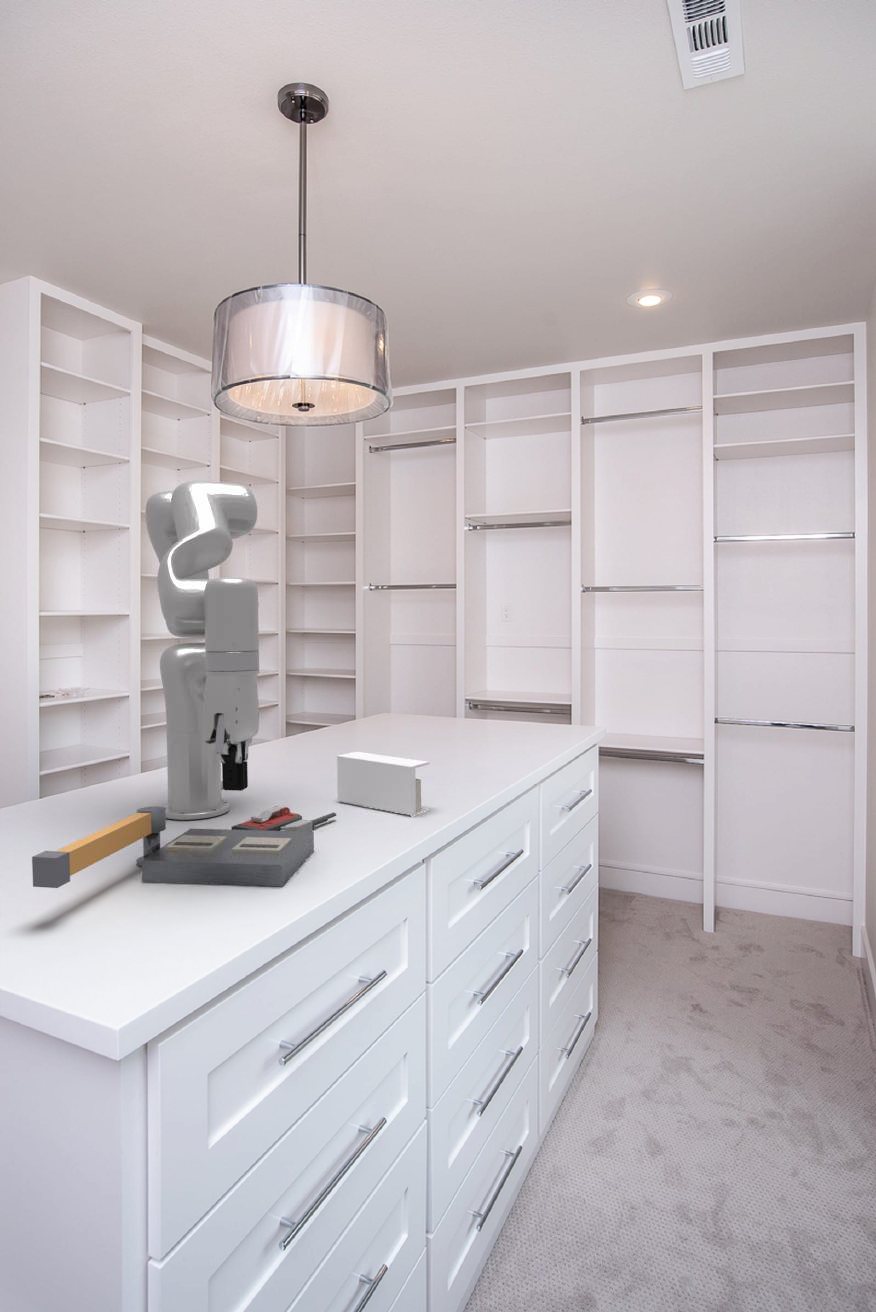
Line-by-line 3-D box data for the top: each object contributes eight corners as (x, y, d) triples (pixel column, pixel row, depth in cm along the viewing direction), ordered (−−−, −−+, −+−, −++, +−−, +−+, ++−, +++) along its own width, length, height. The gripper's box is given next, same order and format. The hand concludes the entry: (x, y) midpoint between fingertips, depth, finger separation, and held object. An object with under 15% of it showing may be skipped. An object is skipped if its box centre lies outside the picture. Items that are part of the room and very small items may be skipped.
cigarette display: (430, 811, 145) (430, 761, 144) (411, 817, 140) (411, 766, 140) (352, 796, 157) (351, 750, 156) (332, 802, 152) (332, 754, 152)
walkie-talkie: (264, 853, 121) (340, 822, 138) (263, 825, 120) (340, 798, 138) (222, 845, 125) (301, 816, 142) (222, 818, 125) (301, 792, 142)
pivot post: (145, 857, 118) (144, 828, 117) (173, 858, 117) (172, 829, 117) (130, 867, 113) (130, 836, 113) (159, 867, 113) (158, 837, 113)
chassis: (191, 847, 123) (190, 825, 123) (313, 850, 121) (313, 828, 120) (142, 881, 107) (141, 856, 107) (282, 886, 105) (281, 861, 105)
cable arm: (146, 827, 117) (145, 803, 117) (170, 828, 117) (170, 804, 116) (30, 886, 92) (29, 856, 92) (60, 888, 91) (59, 858, 91)
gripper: (228, 661, 120) (231, 778, 121) (184, 666, 105) (187, 800, 106) (275, 661, 119) (277, 779, 120) (236, 666, 104) (239, 801, 105)
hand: (235, 788), depth 113 cm, fingers closed
